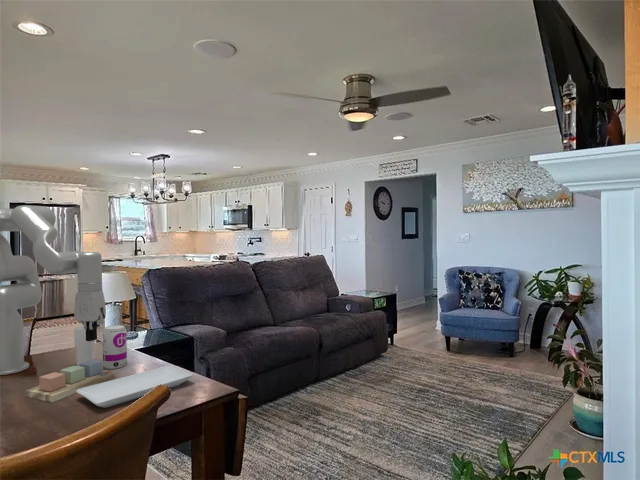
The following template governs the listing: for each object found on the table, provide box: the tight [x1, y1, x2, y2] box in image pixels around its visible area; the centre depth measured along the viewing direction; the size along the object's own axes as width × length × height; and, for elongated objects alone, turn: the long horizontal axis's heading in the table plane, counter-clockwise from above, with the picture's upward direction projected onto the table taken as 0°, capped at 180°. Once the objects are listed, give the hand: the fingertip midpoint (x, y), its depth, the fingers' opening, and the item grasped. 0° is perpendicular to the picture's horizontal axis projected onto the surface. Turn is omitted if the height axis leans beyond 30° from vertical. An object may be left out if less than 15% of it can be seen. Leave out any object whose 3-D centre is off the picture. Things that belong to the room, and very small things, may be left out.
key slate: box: [79, 359, 103, 378], centre depth 147 cm, size 5×5×4 cm
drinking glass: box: [73, 324, 95, 366], centre depth 161 cm, size 7×7×15 cm
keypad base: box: [24, 369, 116, 403], centre depth 140 cm, size 12×23×2 cm, turn 159°
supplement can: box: [102, 324, 128, 370], centre depth 161 cm, size 8×8×15 cm
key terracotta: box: [38, 371, 65, 393], centre depth 134 cm, size 5×5×4 cm
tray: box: [76, 365, 194, 409], centre depth 137 cm, size 17×31×4 cm, turn 139°
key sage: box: [59, 365, 85, 385], centre depth 140 cm, size 5×5×4 cm
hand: (91, 340), depth 146 cm, fingers closed
